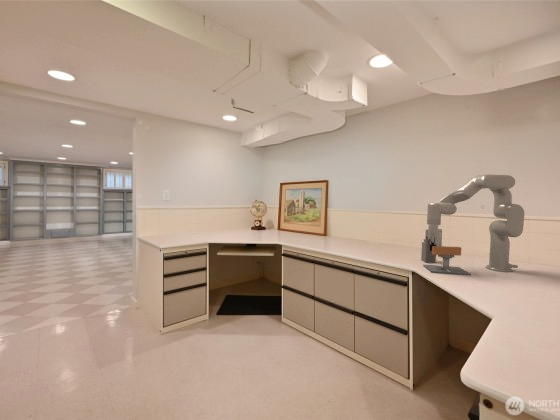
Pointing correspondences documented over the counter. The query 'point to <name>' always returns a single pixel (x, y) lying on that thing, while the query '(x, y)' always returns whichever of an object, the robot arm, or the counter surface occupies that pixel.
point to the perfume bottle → (427, 252)
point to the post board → (453, 270)
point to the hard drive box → (439, 237)
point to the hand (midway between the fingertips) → (432, 250)
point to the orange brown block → (446, 251)
